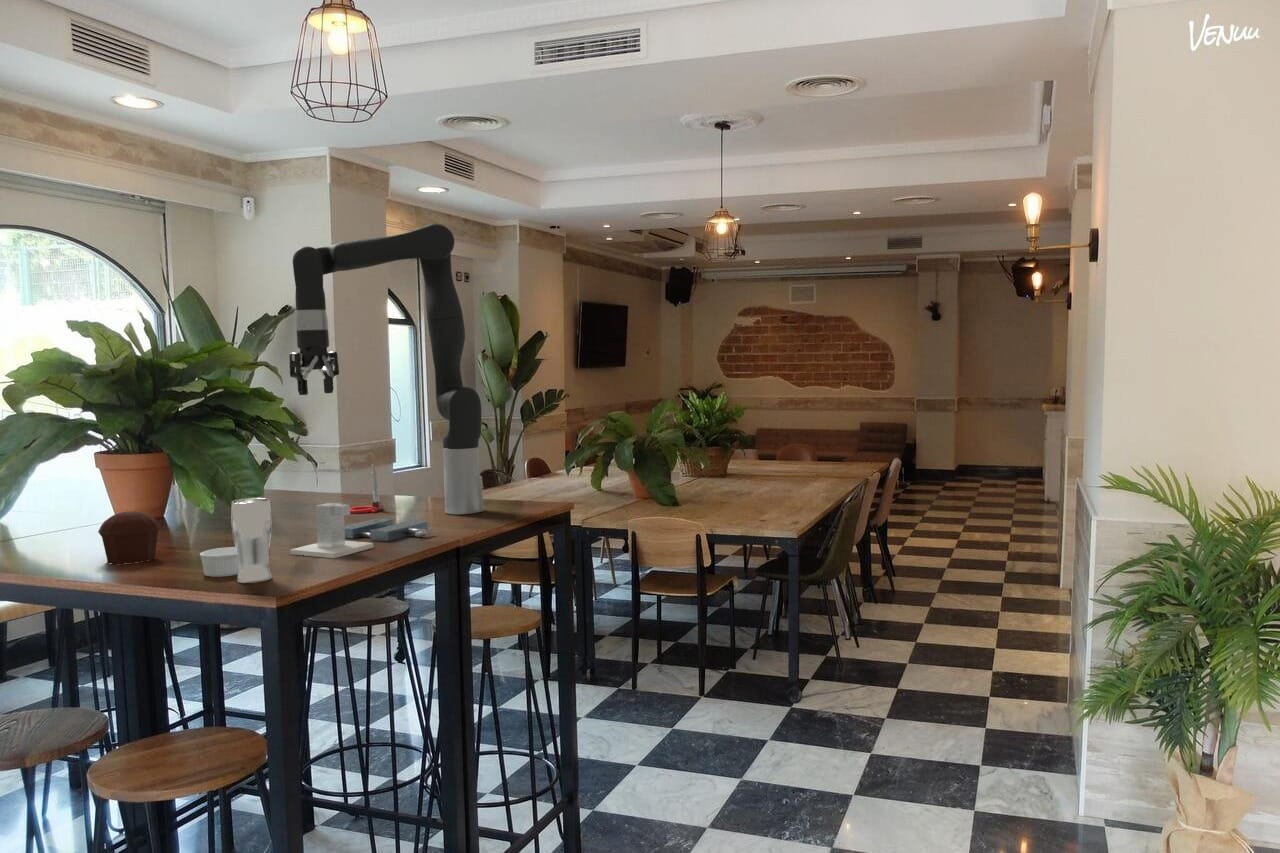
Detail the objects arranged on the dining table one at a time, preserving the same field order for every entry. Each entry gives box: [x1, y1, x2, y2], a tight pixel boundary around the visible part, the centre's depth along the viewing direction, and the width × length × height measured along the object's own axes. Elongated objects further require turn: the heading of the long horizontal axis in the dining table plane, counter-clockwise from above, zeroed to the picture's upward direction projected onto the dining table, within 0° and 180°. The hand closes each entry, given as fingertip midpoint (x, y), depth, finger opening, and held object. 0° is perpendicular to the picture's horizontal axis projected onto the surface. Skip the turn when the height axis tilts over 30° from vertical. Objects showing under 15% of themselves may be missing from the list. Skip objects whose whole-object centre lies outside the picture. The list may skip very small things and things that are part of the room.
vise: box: [344, 518, 435, 543], centre depth 224 cm, size 20×14×2 cm
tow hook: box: [350, 463, 384, 514], centre depth 260 cm, size 8×13×9 cm
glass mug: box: [315, 502, 351, 549], centre depth 206 cm, size 6×4×9 cm, turn 63°
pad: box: [290, 540, 374, 559], centre depth 207 cm, size 12×12×1 cm
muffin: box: [97, 511, 162, 565], centre depth 201 cm, size 12×11×10 cm
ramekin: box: [199, 546, 238, 578], centre depth 187 cm, size 9×9×4 cm
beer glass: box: [230, 497, 273, 584], centre depth 180 cm, size 7×7×15 cm
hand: (316, 394), depth 241 cm, fingers open, 8 cm apart
